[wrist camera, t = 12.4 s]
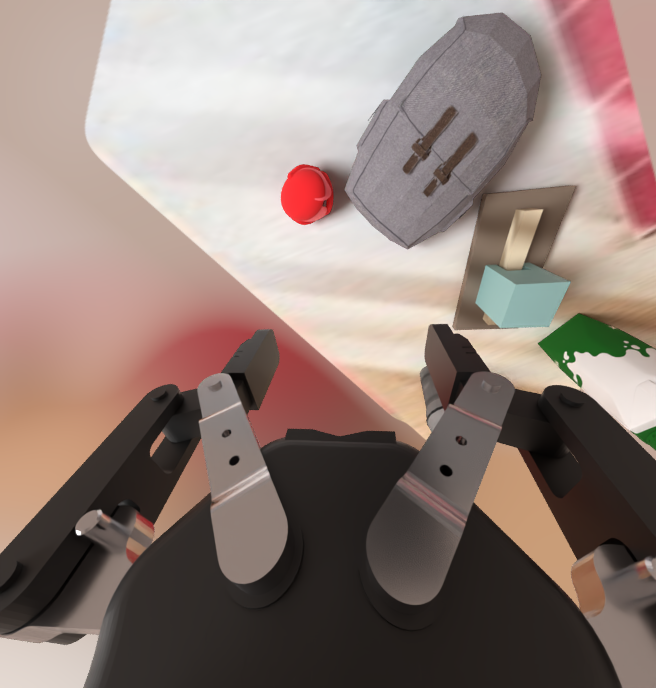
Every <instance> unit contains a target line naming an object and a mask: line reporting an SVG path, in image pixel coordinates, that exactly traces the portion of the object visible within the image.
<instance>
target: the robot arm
mask: <svg viewBox="0 0 656 688" xmlns="http://www.w3.org/2000/svg"><path fill="white" fill-rule="evenodd" d="M425 362H426V365H427V367H428V370H429V372H430V375H431V378H432V380H433V383H434V385H435V388H436V391H437V393H438V396H439V398H440V401H441V404H442V406H443V409H444V414H443V415H442V417H441V418H440V420H439V422H438V423H437V425H436V426H435V428H434V430H433V431H432V433H431V434H430V436H429V437H428V439H427V441H426V442H425V444H424V445H423V447H422V449H421V450H420V451H419V450H417V449H415V448H414V447H412V446H410V445H408V444H405V443H403V442H400V441H396V437H395V432H390V431H389V432H388V431H365V432H359V433H354V434H350V435H345V436H335V435H331V434H328V433H324V432H320V431H317V430H313V429H288V430H287V433H286V437H284V438H281V439H277V440H275V441H273V442H270V443H269V444H267V445H265V446H264V447H262V448H261V447H260V445H259V442H258V440H257V437H256V435H255V432H254V430H253V427H252V425H251V423H250V420H249V418H248V415H247V414H248V412H249V410H259V408H260V406H261V404H262V401H263V399H264V397H265V394H266V392H267V390H268V387H269V385H270V382H271V380H272V378H273V376H274V373H275V371H276V368H277V366H278V364H279V351H278V347H277V343H276V339H275V336H274V332H273V330H271V329H267V330H257V331H256V332H255V334H254V335H253V337H252V338H251V339H248V340H246V341H245V342H244V343H242V344H241V345H240V347H239V348H238V349H237V352H235V354H234V355H233V357H232V358H231V359H230V361H229V362H228V363H227V365H226V367H225V368H224V369H223V370H222V372H221V373H219V374H215V375H212V376H209V377H208V378H206V379H205V380H203V381H202V382H201V383H200V385H199V386H198V388H197V389H193V390H189V391H185V392H180V390H179V388H178V387H177V386H176V385H173V384H168V385H164V386H161V387H158V388H156V389H154V390H152V391H151V392H149V393H148V394H147V395H146V396H145V397H144V398H143V399H142V400H141V401H140V402H139V403H138V404H137V405H136V407H135V408H134V409H133V410H132V411H131V412H130V413H129V414H128V415H127V416H126V417H125V418H124V420H123V421H122V422H121V423H120V424H119V425H118V426H117V427H116V428H115V429H114V430H113V432H112V433H111V434H110V435H109V436H108V437H107V438H106V439H105V440H104V442H102V444H101V445H100V446H99V447H98V448H97V449H96V450H95V451H94V452H93V453H92V455H91V456H90V457H89V458H88V459H87V460H86V461H85V462H84V463H83V464H82V466H81V467H80V468H79V469H78V470H77V471H76V472H75V473H74V474H73V475H72V476H71V477H70V478H69V480H68V481H67V482H66V483H65V484H64V485H63V486H62V487H61V488H60V489H59V491H58V492H57V493H56V494H55V495H54V496H53V497H52V498H51V499H50V501H48V502H47V504H46V505H45V506H44V507H43V508H42V509H41V510H40V511H39V512H38V514H37V515H36V516H35V517H34V518H33V519H32V520H31V521H30V522H29V523H28V524H27V525H26V527H25V528H24V529H23V530H22V531H21V532H20V533H19V534H18V535H17V536H16V537H15V539H14V540H13V541H12V542H11V543H10V544H9V545H8V546H7V547H6V549H4V551H3V552H2V553H1V554H0V637H2V638H7V639H14V640H20V641H27V642H33V643H41V642H50V643H57V644H63V645H67V644H71V643H73V642H76V641H78V640H79V639H81V638H82V637H84V636H85V635H86V634H96V635H99V638H98V641H97V646H96V650H95V654H94V657H93V660H92V664H91V667H90V670H89V673H88V676H87V679H86V682H85V685H84V687H83V688H656V460H655V459H654V458H653V457H652V456H651V455H650V454H649V453H648V452H647V451H646V450H645V449H644V448H642V446H641V445H640V444H639V443H638V442H637V441H636V440H635V439H634V438H633V437H632V436H631V435H630V434H629V433H628V432H626V430H625V429H624V428H623V427H622V426H621V425H620V424H619V423H618V422H617V421H616V420H615V419H613V418H612V416H611V415H610V414H609V413H608V412H607V411H606V410H605V409H604V408H603V407H602V406H601V405H600V404H599V403H598V402H597V401H595V400H594V399H593V398H592V397H590V396H589V395H587V394H585V393H583V392H581V391H579V390H577V389H574V388H571V387H567V386H561V385H552V386H548V387H546V388H545V389H544V391H543V393H542V394H537V393H532V392H527V391H522V390H518V389H515V388H514V386H513V384H512V383H511V382H510V381H509V380H508V379H506V378H505V377H503V376H501V375H498V374H496V373H492V372H490V370H489V369H488V367H487V366H486V365H485V363H484V362H483V360H482V359H481V358H480V356H479V355H478V354H477V352H476V350H475V349H474V348H473V346H472V345H471V343H470V342H469V341H468V339H466V338H465V337H463V336H462V335H460V334H453V332H452V330H451V329H450V327H449V326H448V324H431V325H430V326H429V328H428V334H427V340H426V346H425ZM161 431H162V432H163V433H164V434H165V438H164V439H163V441H162V442H161V444H160V445H159V447H158V448H157V450H156V451H155V452H154V454H153V456H152V457H150V449H151V446H152V444H153V443H154V441H155V440H156V438H157V437H158V435H159V434H160V433H161ZM201 438H202V443H203V449H204V455H205V461H206V467H207V473H208V478H209V485H210V490H211V492H210V493H209V494H208V495H207V496H206V497H205V498H204V499H202V500H201V501H200V502H199V503H198V504H197V505H196V506H194V507H193V508H192V509H191V510H190V511H189V512H188V513H186V514H185V515H184V516H183V517H182V518H181V519H179V520H178V521H177V522H176V523H175V524H174V525H173V526H172V527H170V528H169V529H168V530H167V531H166V532H165V533H163V534H162V535H161V536H160V537H159V538H158V539H157V540H156V541H154V542H153V543H152V541H153V537H154V532H155V531H154V524H155V522H156V520H157V518H158V516H159V514H160V513H161V511H162V509H163V507H164V505H165V503H166V502H167V500H168V498H169V496H170V494H171V492H172V491H173V489H174V487H175V485H176V483H177V481H178V480H179V478H180V476H181V474H182V472H183V470H184V468H185V466H186V465H187V463H188V461H189V459H190V458H191V456H192V454H193V452H194V450H195V448H196V446H197V445H198V443H199V441H200V439H201ZM496 442H499V443H502V444H506V445H509V446H513V447H516V448H518V450H519V452H520V454H521V455H522V457H523V459H524V461H525V463H526V465H527V467H528V468H529V470H530V472H531V474H532V476H533V478H534V480H535V482H536V483H537V485H538V487H539V489H540V491H541V493H542V494H543V497H544V498H545V500H546V502H547V504H548V506H549V508H550V509H551V511H552V513H553V515H554V517H555V519H556V521H557V523H558V525H559V527H560V528H561V530H562V532H563V534H564V536H565V538H566V539H567V541H568V543H569V545H570V547H571V549H572V551H573V553H574V555H575V556H576V558H577V561H576V562H575V563H574V564H573V566H572V569H571V578H572V582H573V585H574V587H575V590H576V593H577V597H578V600H579V607H580V609H579V608H578V607H577V605H576V604H575V603H574V602H573V601H572V599H571V598H570V597H569V596H568V595H567V594H566V593H565V592H564V591H563V590H562V589H561V588H560V587H559V586H558V585H557V584H556V583H555V582H554V581H553V580H552V579H551V578H550V577H549V576H548V575H547V574H546V573H545V572H544V571H543V570H542V569H541V568H540V567H539V566H538V565H537V564H536V563H535V562H534V561H533V560H532V559H531V558H530V557H529V556H528V555H527V554H526V553H525V552H524V551H523V550H522V549H521V548H520V547H519V546H518V545H517V544H516V543H515V542H514V541H513V540H511V538H510V537H508V536H507V535H506V534H505V533H504V532H503V531H502V530H501V529H500V528H499V527H498V526H497V525H496V524H495V523H494V522H493V521H492V520H491V519H490V518H489V517H488V516H487V515H486V514H485V513H484V512H483V511H482V510H481V509H480V508H479V507H478V506H477V505H476V504H475V503H474V499H475V497H476V494H477V491H478V489H479V486H480V484H481V481H482V478H483V476H484V473H485V471H486V468H487V466H488V463H489V460H490V458H491V455H492V453H493V450H494V447H495V445H496ZM570 451H571V452H570ZM572 454H573V455H572ZM575 458H576V459H575ZM577 461H578V462H577ZM151 543H152V544H151Z"/></svg>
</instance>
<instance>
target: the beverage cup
mask: <svg viewBox="0 0 656 688" xmlns="http://www.w3.org/2000/svg"><path fill="white" fill-rule="evenodd" d="M420 377H421V384H422V389H423V394H424V399H425V404H426V409H427V410H426V417H427V420H426V421H427V425H428V426H429V428H430V430H431V432H432V431H433V430H434V428H435V426H436V425H437V423H438V422H439V420H440V418H441V417H442V415H443V414H444V409H443V406H442V404H441V401H440V398H439V396H438V393H437V391H436V388H435V385H434V383H433V380H432V378H431V375H430V372H429V370H428V367H427V366H426V367H424V368H423V369H422V370H421V372H420Z"/></svg>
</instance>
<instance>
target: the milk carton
mask: <svg viewBox="0 0 656 688" xmlns="http://www.w3.org/2000/svg"><path fill="white" fill-rule="evenodd" d="M538 344H539V346H540V347H541V348H542V349H543V350H544V351H545V352H546V353H547V355H548V356H549V357H550V358H551V359H552V360H553V361H554V362H555V364H556V365H557V366H558V367H559V368H560V369H561V370H562V371H563V372H564V373H565V374H566V375H567V376H568V377H570V378H571V379H572V380H573V381H574V382H575V383H576V384H577V385H578V386H579V387H580V388H582V389H583V390H584V391H585V392H586V393H587V394H588V395H589V396H590V397H592V398H593V399H594V400H595V401H597V402H598V403H599V404H600V405H601V406H602V407H603V408H604V409H605V410H606V411H607V412H608V413H609V414H610V415H612V416H613V417H614V418H615V419H616V420H618V421H619V422H620V423H621V424H622V425H623V426H625V427H626V428H627V429H628V430H630V431H631V432H632V433H633V434H635V435H636V436H637V437H638V438H639V439H641V440H642V441H643V442H645V443H646V444H648V445H650V446H651V447H652V448H654V449H655V450H656V349H655V348H653V347H651V346H649V345H648V344H646V343H644V342H642V341H640V340H639V339H637V338H635V337H633V336H631V335H629V334H627V333H626V332H624V331H622V330H620V329H617V328H615V327H612V326H610V325H607V324H605V323H602V322H600V321H597V320H595V319H592V318H590V317H587V316H584V315H582V314H579V313H578V314H577V315H576V316H574V317H573V318H572V319H570V320H569V321H568V322H566V323H565V324H564V325H562V326H561V327H559V328H558V329H557V330H555V331H554V332H553V333H551V334H550V335H549V336H547V337H546V338H545V339H543V340H542V341H541V342H539V343H538Z"/></svg>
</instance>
